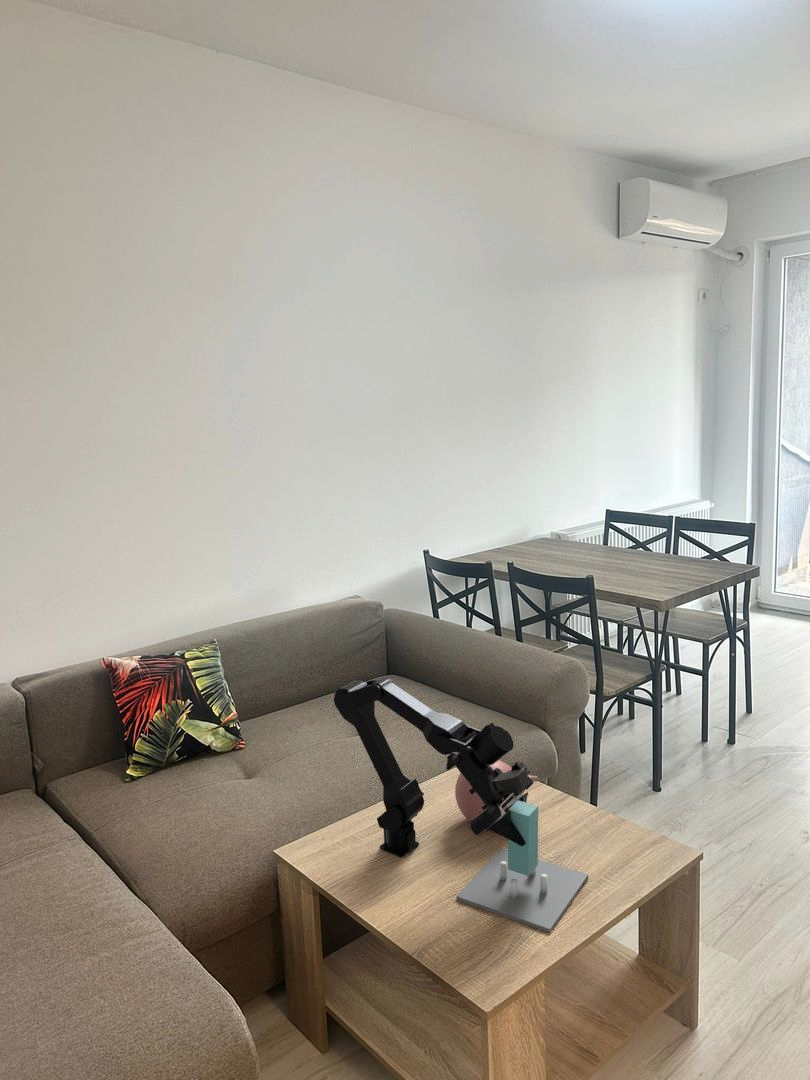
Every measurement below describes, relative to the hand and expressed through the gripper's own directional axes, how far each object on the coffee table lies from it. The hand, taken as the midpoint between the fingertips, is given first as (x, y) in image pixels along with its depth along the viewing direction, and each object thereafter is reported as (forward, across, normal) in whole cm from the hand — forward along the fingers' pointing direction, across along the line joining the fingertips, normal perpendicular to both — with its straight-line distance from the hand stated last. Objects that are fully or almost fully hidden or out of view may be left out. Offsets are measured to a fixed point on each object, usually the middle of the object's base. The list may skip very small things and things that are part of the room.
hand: (529, 839), depth 165 cm
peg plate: (+7, 0, +9) cm, 11 cm away
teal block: (+4, 0, +6) cm, 7 cm away
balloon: (-4, +21, +20) cm, 29 cm away
